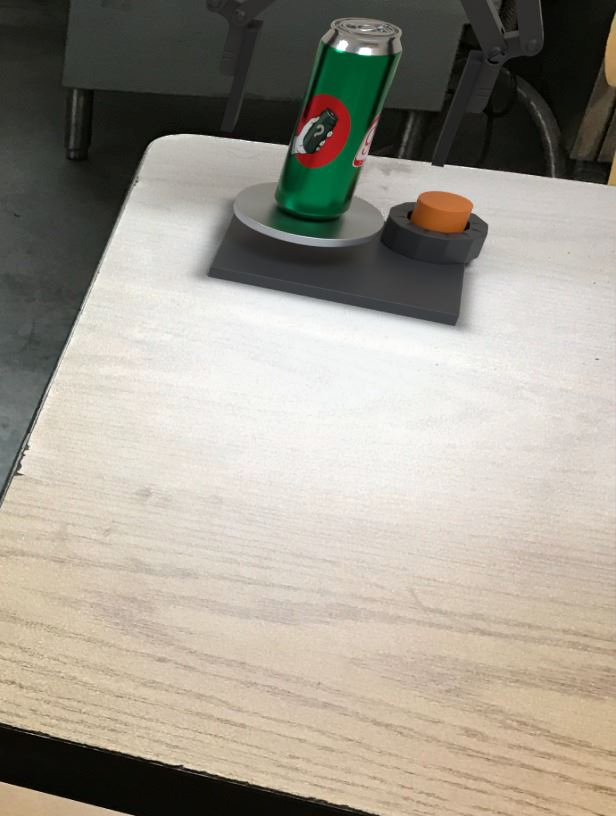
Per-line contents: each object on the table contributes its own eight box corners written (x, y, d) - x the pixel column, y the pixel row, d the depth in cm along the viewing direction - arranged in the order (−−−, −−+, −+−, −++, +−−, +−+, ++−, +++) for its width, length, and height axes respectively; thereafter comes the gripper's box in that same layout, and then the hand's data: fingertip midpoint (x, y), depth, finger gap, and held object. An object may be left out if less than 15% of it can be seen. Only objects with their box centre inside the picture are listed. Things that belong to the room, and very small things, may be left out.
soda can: (352, 227, 93) (416, 42, 85) (276, 220, 94) (332, 35, 86) (340, 198, 97) (400, 18, 89) (267, 192, 97) (320, 12, 89)
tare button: (465, 220, 97) (474, 196, 96) (462, 239, 94) (472, 215, 93) (411, 211, 98) (420, 187, 97) (407, 229, 95) (416, 205, 94)
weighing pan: (387, 205, 98) (390, 197, 97) (374, 259, 91) (378, 250, 90) (244, 180, 101) (247, 172, 100) (222, 230, 94) (224, 221, 93)
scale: (470, 258, 99) (489, 212, 97) (461, 341, 90) (482, 292, 87) (236, 215, 104) (249, 169, 102) (204, 289, 95) (217, 240, 92)
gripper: (688, -221, 77) (532, 155, 91) (237, -257, 84) (157, 95, 98) (697, -201, 72) (531, 195, 86) (216, -241, 79) (135, 128, 93)
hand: (331, 142), depth 92 cm, fingers open, 13 cm apart
